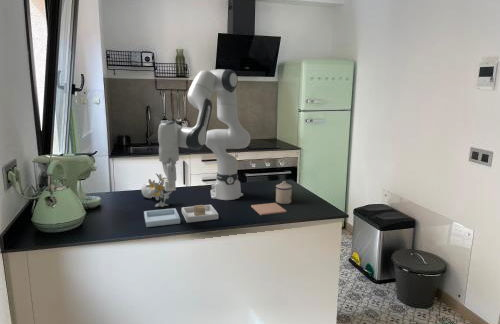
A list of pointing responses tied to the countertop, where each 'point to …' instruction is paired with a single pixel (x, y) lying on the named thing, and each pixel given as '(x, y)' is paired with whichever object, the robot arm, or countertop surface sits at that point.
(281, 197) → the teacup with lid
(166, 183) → the letter cube
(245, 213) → the countertop surface
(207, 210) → the grey tray
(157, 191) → the flower vase
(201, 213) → the plain oak block
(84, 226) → the countertop surface
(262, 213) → the terracotta tile
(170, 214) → the blue grey tray
